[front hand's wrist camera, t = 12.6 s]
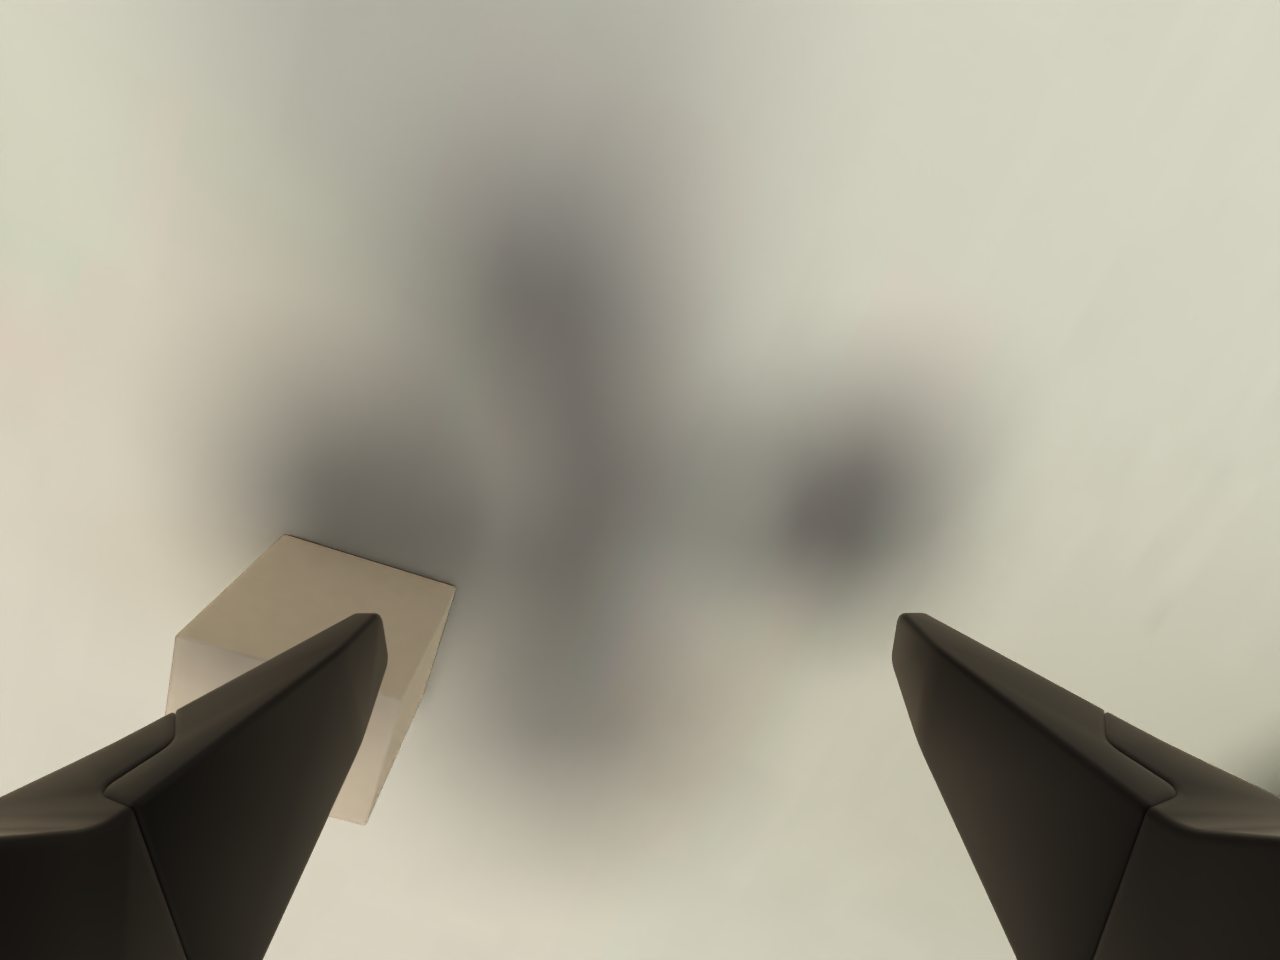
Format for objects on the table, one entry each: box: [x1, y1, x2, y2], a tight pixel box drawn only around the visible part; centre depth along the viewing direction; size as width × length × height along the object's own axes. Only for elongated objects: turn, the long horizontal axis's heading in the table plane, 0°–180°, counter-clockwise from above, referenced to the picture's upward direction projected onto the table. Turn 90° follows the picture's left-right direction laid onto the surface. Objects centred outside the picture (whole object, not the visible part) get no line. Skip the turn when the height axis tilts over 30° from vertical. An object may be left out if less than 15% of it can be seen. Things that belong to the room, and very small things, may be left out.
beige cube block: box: [165, 535, 456, 825], centre depth 18 cm, size 5×4×5 cm
